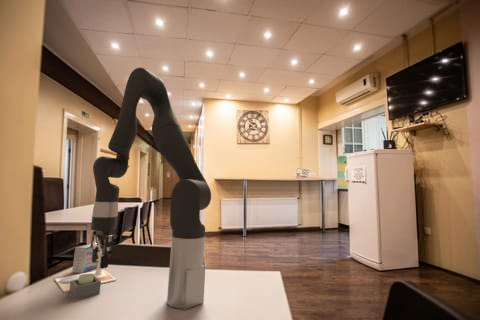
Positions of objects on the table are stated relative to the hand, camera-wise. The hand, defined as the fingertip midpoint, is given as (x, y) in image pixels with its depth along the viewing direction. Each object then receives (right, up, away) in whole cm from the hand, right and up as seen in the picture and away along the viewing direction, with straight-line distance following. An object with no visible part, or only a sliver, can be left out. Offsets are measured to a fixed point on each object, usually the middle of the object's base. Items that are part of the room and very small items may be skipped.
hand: (99, 264), depth 77 cm
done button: (+3, -1, -11) cm, 11 cm away
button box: (+2, -3, -11) cm, 12 cm away
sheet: (-3, -4, -2) cm, 6 cm away
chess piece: (0, -4, -1) cm, 4 cm away
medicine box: (-10, -6, +8) cm, 14 cm away
